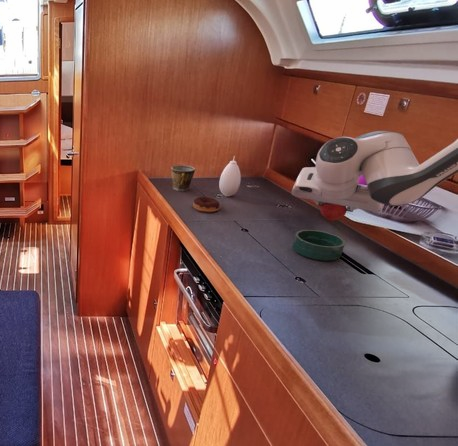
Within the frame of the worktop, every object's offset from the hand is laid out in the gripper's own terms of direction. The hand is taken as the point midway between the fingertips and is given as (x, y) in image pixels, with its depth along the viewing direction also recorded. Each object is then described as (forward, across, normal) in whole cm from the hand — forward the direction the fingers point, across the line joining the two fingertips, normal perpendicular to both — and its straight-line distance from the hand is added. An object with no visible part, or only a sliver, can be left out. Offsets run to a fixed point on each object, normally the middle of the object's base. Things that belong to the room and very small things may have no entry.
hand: (334, 206), depth 115 cm
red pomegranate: (+3, 0, +4) cm, 5 cm away
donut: (+22, +42, +1) cm, 47 cm away
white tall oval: (+37, +41, -14) cm, 57 cm away
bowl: (+12, +1, +11) cm, 16 cm away
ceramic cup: (+33, +60, -10) cm, 69 cm away
